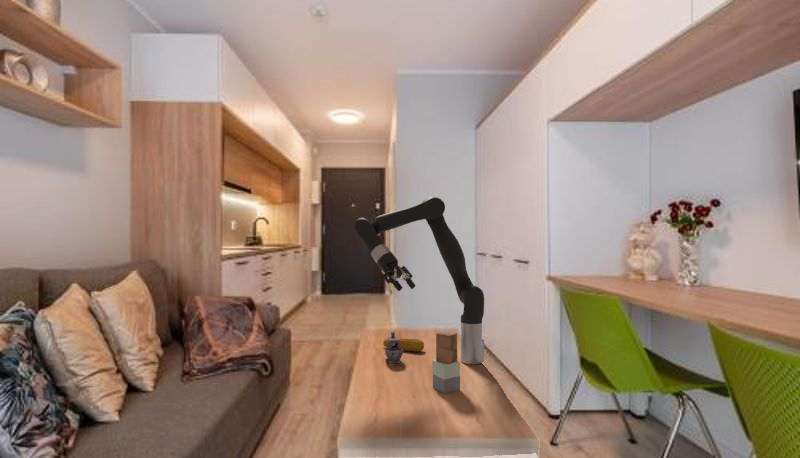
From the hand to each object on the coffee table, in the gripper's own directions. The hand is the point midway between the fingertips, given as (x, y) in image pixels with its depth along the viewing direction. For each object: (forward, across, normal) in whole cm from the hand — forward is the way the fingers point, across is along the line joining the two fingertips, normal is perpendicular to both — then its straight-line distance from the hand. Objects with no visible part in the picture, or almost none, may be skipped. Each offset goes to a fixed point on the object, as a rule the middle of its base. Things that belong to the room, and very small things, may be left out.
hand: (407, 288), depth 166 cm
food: (+6, +32, +43) cm, 54 cm away
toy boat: (+12, +14, +37) cm, 42 cm away
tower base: (+37, 0, +12) cm, 39 cm away
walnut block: (+30, 0, +5) cm, 30 cm away
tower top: (+33, 0, +9) cm, 34 cm away
